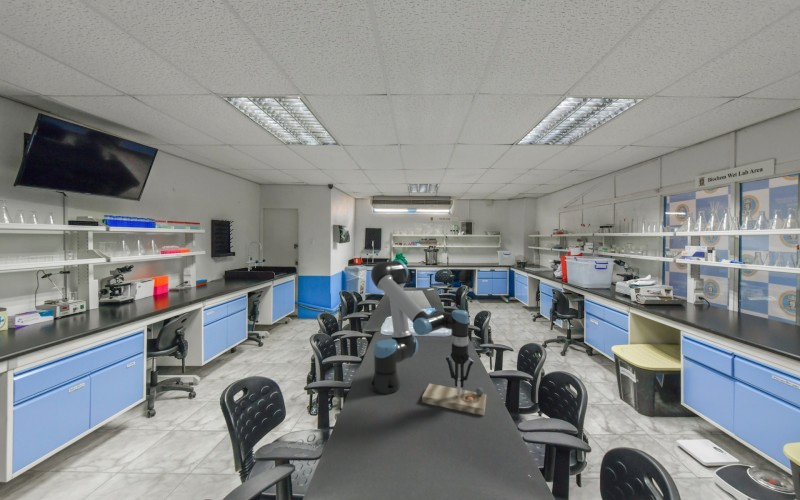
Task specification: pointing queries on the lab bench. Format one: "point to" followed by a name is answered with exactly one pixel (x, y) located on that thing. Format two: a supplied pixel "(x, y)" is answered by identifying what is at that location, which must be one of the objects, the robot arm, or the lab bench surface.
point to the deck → (454, 399)
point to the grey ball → (479, 391)
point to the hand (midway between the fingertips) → (459, 393)
